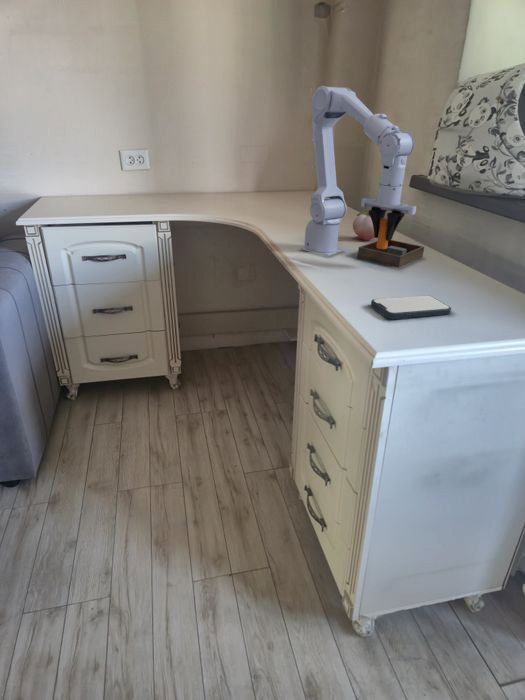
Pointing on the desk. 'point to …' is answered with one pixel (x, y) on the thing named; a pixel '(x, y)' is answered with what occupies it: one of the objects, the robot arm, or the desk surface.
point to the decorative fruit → (363, 226)
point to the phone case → (410, 307)
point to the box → (383, 257)
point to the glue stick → (382, 234)
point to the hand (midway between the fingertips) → (383, 238)
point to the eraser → (396, 250)
